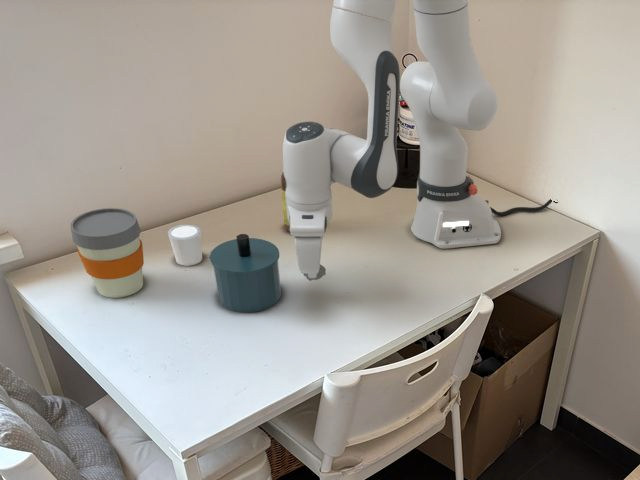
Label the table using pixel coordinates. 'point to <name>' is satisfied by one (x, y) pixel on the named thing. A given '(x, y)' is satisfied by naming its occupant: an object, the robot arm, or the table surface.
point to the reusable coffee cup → (110, 250)
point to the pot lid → (244, 255)
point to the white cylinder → (186, 244)
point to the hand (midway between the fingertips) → (313, 269)
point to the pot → (249, 289)
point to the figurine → (320, 274)
